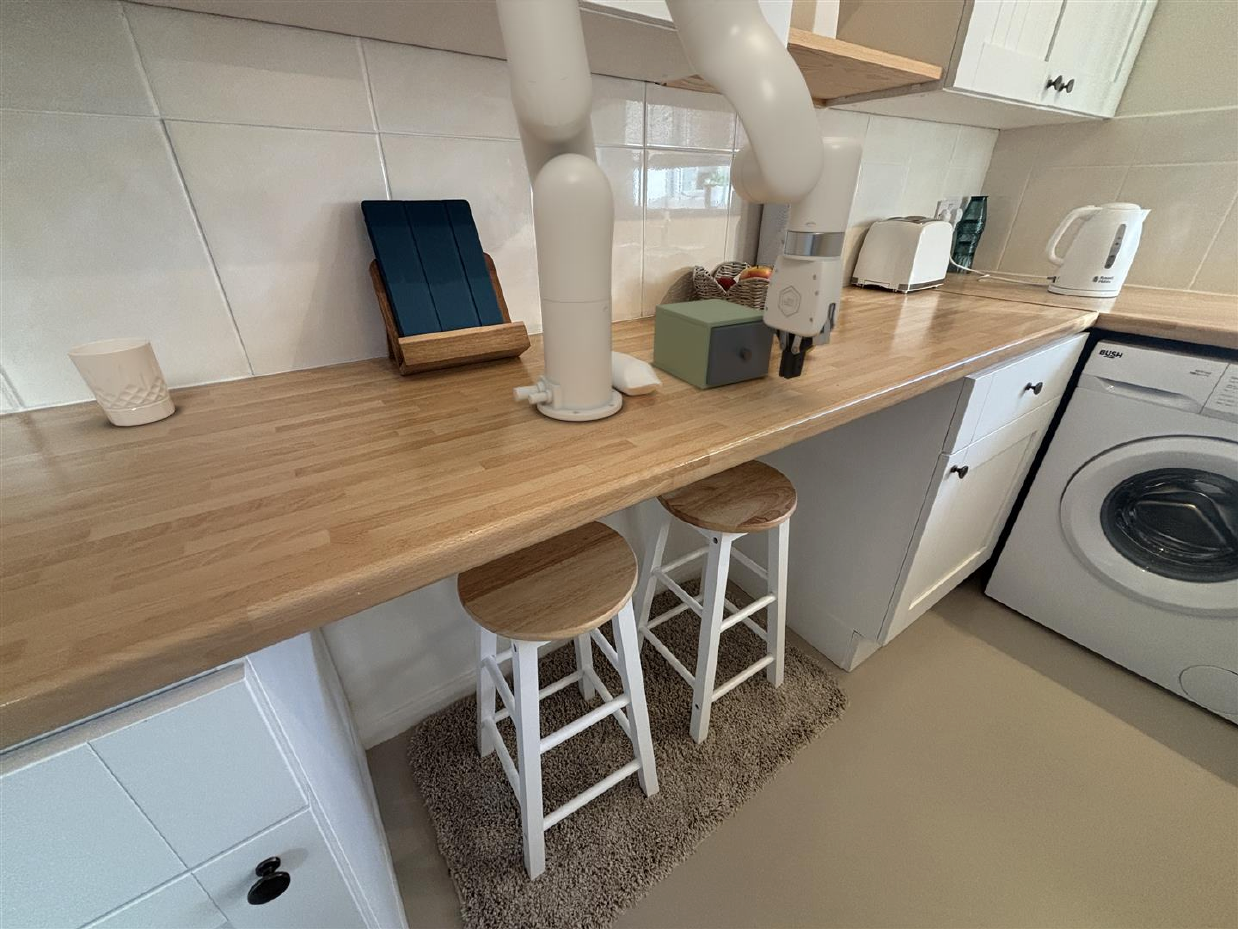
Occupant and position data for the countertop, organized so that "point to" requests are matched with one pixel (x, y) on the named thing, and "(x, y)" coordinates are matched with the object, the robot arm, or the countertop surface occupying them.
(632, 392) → the white pouch
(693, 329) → the cabinet
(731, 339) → the drawer
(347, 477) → the countertop surface
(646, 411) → the countertop surface
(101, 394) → the white cup
